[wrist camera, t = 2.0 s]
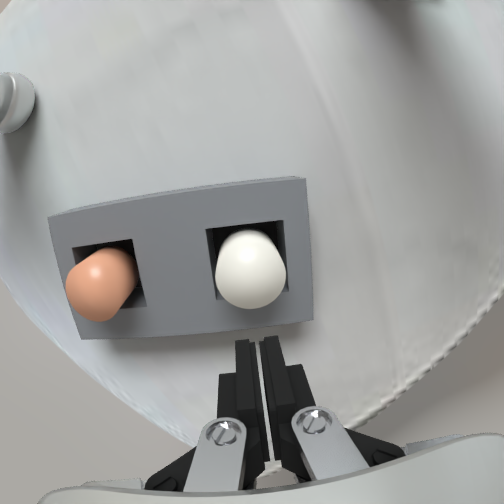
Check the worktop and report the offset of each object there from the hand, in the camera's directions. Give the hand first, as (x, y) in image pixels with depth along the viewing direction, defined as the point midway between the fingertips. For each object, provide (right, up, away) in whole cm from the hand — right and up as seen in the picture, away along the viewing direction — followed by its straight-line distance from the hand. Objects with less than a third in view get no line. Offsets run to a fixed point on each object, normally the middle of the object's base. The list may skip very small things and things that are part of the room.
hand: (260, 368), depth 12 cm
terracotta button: (-13, +3, +14) cm, 19 cm away
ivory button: (-1, +4, +14) cm, 15 cm away
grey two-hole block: (-7, +5, +17) cm, 19 cm away
